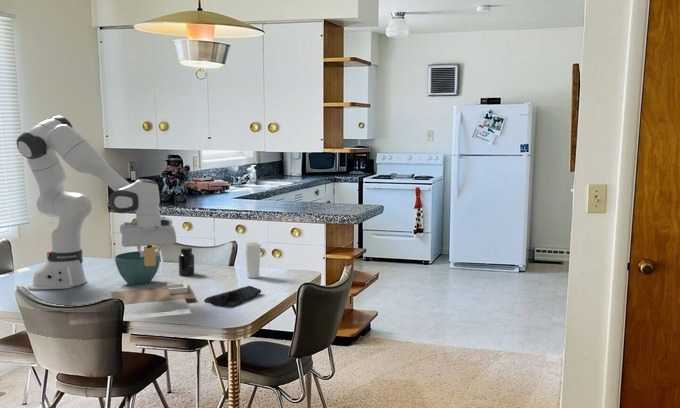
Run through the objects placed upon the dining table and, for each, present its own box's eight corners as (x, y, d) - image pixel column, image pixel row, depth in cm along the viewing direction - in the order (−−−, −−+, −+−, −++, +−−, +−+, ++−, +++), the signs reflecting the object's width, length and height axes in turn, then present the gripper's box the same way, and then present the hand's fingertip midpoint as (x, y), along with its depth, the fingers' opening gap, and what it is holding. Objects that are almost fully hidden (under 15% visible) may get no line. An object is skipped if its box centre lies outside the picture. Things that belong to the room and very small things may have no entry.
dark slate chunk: (267, 296, 247) (267, 284, 246) (229, 310, 228) (229, 297, 228) (238, 290, 255) (238, 279, 254) (199, 303, 236) (199, 291, 236)
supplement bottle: (192, 276, 277) (191, 249, 275) (177, 276, 277) (176, 249, 275) (196, 272, 284) (195, 246, 282) (181, 272, 284) (180, 246, 282)
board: (111, 309, 226) (111, 305, 226) (111, 295, 245) (111, 291, 245) (195, 301, 237) (195, 297, 237) (189, 288, 255) (189, 285, 255)
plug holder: (169, 294, 242) (168, 289, 241) (167, 288, 250) (166, 284, 249) (187, 292, 244) (187, 287, 244) (185, 287, 252) (185, 282, 252)
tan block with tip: (144, 266, 239) (143, 240, 238) (144, 264, 243) (143, 238, 242) (155, 265, 240) (154, 240, 239) (155, 263, 244) (154, 238, 243)
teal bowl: (147, 290, 253) (146, 260, 252) (107, 287, 257) (106, 258, 255) (168, 279, 271) (167, 251, 269) (130, 277, 274) (129, 250, 273)
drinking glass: (262, 275, 279) (261, 242, 277) (258, 279, 272) (258, 245, 270) (247, 275, 279) (247, 242, 277) (243, 278, 273) (243, 245, 271)
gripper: (119, 223, 233) (121, 260, 235) (176, 221, 240) (177, 256, 242) (119, 221, 239) (121, 256, 241) (174, 218, 246) (175, 253, 247)
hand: (149, 256), depth 241 cm, fingers closed on tan block with tip, 4 cm apart
